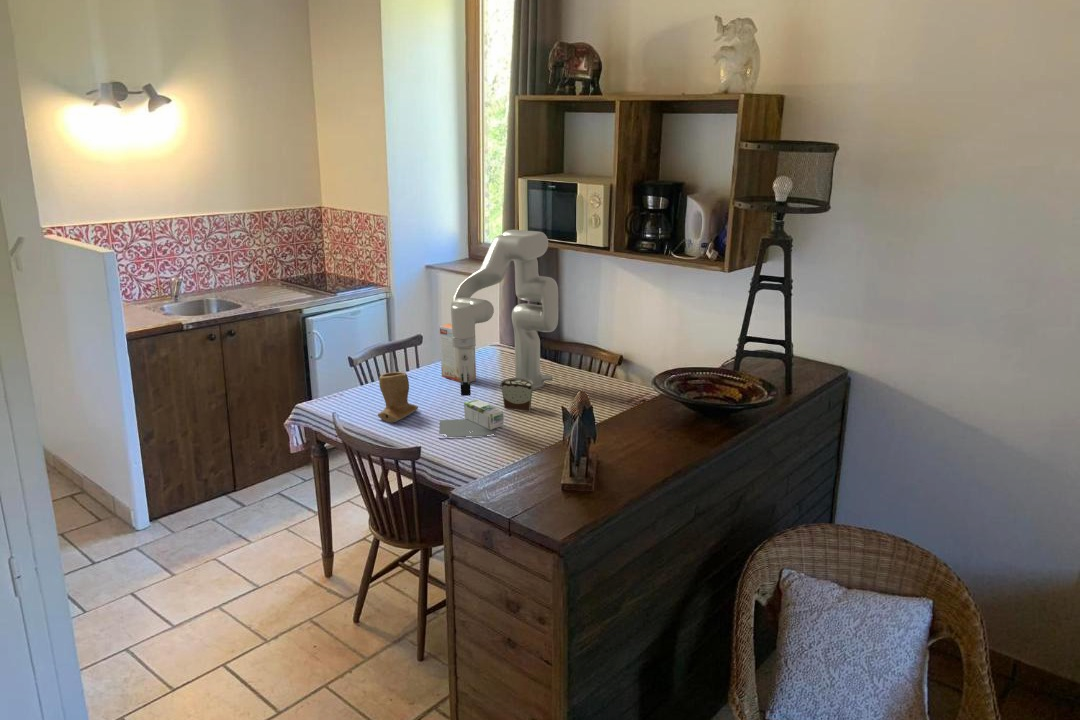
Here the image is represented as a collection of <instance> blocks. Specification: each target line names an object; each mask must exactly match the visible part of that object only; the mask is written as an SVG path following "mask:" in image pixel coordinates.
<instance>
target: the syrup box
mask: <svg viewBox="0 0 1080 720" xmlns="http://www.w3.org/2000/svg"><path fill="white" fill-rule="evenodd" d="M463 409H464V410H463V411H464V419H468V420H470V421H472V422H475V423H477V424H479V425H481V426H483V427H485V428H488V429H490V430H492V429H495V430H496V429H497V428H501V427H503V426H504V423H505V415H504V409H501V408H499V407H496V406H494V405H491V404H490V403H487V402H484V401H482V400H480V399H478V398H475V399H473V400H468V401H465V402H464V403H463Z"/></svg>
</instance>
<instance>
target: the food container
mask: <svg viewBox="0 0 1080 720" xmlns="http://www.w3.org/2000/svg"><path fill="white" fill-rule="evenodd" d="M499 387H500V388H501V390H502V400H503V408H507V409H506V410H512V409H516V411H520V410H525V411H524V412H529V411H530V412H531V406H532V397H533V396H532V395H533V391H534V385H533V382H532V381H531V380H529V379H525V378H515V377H509V378H506V379H503V380H501V381H500V385H499ZM532 389H533V390H532Z"/></svg>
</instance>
